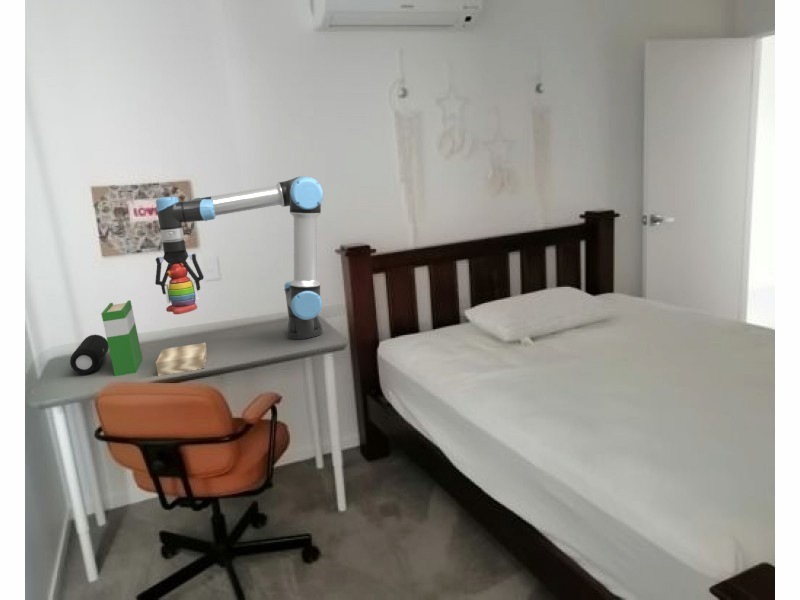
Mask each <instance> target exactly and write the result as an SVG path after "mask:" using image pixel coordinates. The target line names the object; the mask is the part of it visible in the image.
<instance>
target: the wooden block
mask: <svg viewBox="0 0 800 600" xmlns="http://www.w3.org/2000/svg"><path fill="white" fill-rule="evenodd" d="M207 354H208V349H207V344H206V342H201V343H194V344H187V345H182V346H174V347H168V348H162V350H160V353H159V356H158V358H157V360H156V361H155V366H156V372H157V377H160V375H161V376H167V375H174V374H179V373H185V371H186V372H191V370H192V371H197V369H199V370H203V369H202V368H204V367H205V366H206V364H205V362H206V363H207V359H206V358H208V355H207ZM204 369H205V368H204ZM173 373H174V374H173ZM166 374H167V375H166Z"/></svg>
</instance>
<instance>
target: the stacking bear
mask: <svg viewBox="0 0 800 600" xmlns="http://www.w3.org/2000/svg"><path fill="white" fill-rule="evenodd" d="M188 274H189V272H188V271H187V270H186V268H185V267H184V266H183V264H182V263H179V264H174V265H172V266H171V268H170V269H169V270H168V271H167V275H168V278H170V280H169V281H168V294H169V298H170V301H171V302H170V303H171V304H170V305H168V306H167V307H166V308H165V311H167V312H168V313H170V312H171V313H172V314H173V315H183V314H186V313H187V314H188V313H190V312H194V311H195V310H197V309H198V305H197V303H196V297H195V290H194V284H193V281H192V279H191V278H190V277H189V276H188Z"/></svg>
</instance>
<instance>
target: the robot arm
mask: <svg viewBox="0 0 800 600" xmlns="http://www.w3.org/2000/svg"><path fill="white" fill-rule="evenodd" d="M323 197H324V191H323V187H322V185H321V184H320V182H318V181H317V180H316V179H315V178H314V177H311V176H297V177H294V178H291V179H288V180H285V181H284V180H283V181H279V182H277V183H276V185H271V186H267V187H260V188H253V189H247V190H242V191H241V190H240V191H235V192H229V193H224V194H218V195H212V196H206V197H205V196H204V197H196V198H193V199H191V200H186V201H185V200H184V201H183V200H182V201H179V199H178V196H164V197H159V198H156V200H155V203H156V214H157V217H158V224H159V230H160V235H161V236H160V237H161V240H162V241H163V242H162V248H163V256H157V257H156V258H155V262H156V274H155V283H154V284H155V285H157V286H160V287H161V291H162V295H165V296H166V298H165V299H166V302H167V304H170V303H171V300H170V298H169V294H168V289H169V283H167V280H168V278H169V276H168V275H167V271H168V270H169V269H170V268H171V266H172V265H174V264H179V263H182V264H183V266H184V267H185V268H186V270H187V271H188V274H189V276H191V278H192V279H193V280H194V281H192V283H193V286H194V290H195V301H198V300H199V299H200V298H199V297H200V296H199V292H198V291H200V290H201V285H200V281H202V280H204V278H205V277H204V274H203V271H202V269H201V267H200V265H199V263H198V260H197V254H196V253H195V252H194V253H188V251H187V249H186V248H187V247H186V241H185V240H184V238H185V236H184V235H185V234H184V229H183V223H190V222H191V223H192V222H193V223H194V222H202V221H203V222H204V221H205V222H207V221H211V220H215V219H216V216H221V215H223V216H224V215H227V214H228V215H229V214H234V213H240V212H245V211H252V210H258V209H263V208H269V207H274V206H275V207H276V206H281V207H282V208H285V207H289V214H290V215H291V216H292V217H293V280H292V281H291V280H290V281H286V282H284V285H283V286H284V292H285V300H286V307H287V308H286V309H287V314H288V321H287V326H286V336H287V338H288V339H289V340H290V339H291V340H305V339H306V338H307V339H312V338H315V336H316V337H318V336H320V335H322V334H323V333H324V326H323V324H322V322H321V320H320V318H319V314H320V313H321V312H322V308H323V301H322V298H321V283H320V282H319V281H318V280H317V239H318V237H317V232H318V231H317V230H318V229H317V227H318V226H317V219H318V217H319V216H320V215H321V213H322V212H321V209H322V208H321V207H322V201H323ZM188 258H189V259H190V260H192V263H193V265H194V266H193V267H194V269H195V271H196V273H197V274H196V273H195V272H194V270H193V268H191V266H190V265H189V264H188V262H187V259H188ZM164 261H166V263H167V267H166V269H165V271H164V275H163V277H162V280H161V274H162V273H161V272H162V263H163V262H164ZM166 283H167V284H166ZM311 337H312V338H311Z"/></svg>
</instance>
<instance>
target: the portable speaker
mask: <svg viewBox="0 0 800 600" xmlns="http://www.w3.org/2000/svg"><path fill="white" fill-rule="evenodd" d="M108 351H109V347H108V342H107V338H105V337H104V336H102V335H100V334H90V335H89V336H88V335H87V336H86V337H85V338H84V340H82V342H80V344H79V346H78V347H77V348H76V349H75V350H74V352H73V353H72V354H71V356H70V359H69V364H70V367H71V368H72V370H73V371H75V372H76V373H78V374H81V375H88V373H89V374H92V373H93V372H95V371H96V370H97V369H98V367H99V365H100V363H102V361H103V359H104V357H105V356H106V354H107V353H108Z"/></svg>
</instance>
